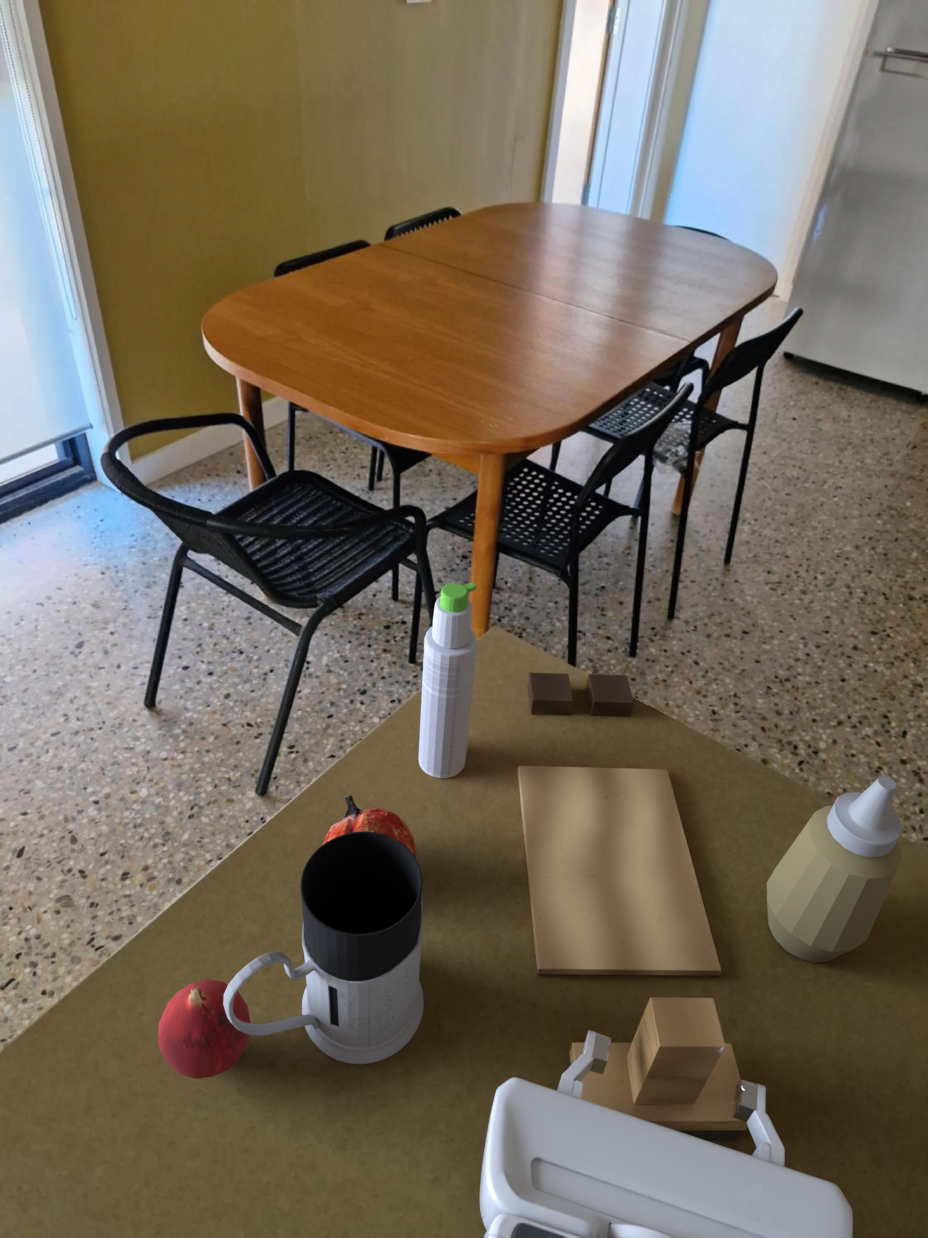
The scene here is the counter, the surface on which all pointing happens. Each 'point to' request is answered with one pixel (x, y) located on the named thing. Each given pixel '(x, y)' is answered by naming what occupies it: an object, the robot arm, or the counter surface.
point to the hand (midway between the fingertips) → (673, 1061)
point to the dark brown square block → (609, 695)
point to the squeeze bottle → (836, 875)
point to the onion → (202, 1030)
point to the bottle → (447, 683)
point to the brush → (672, 1071)
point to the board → (611, 874)
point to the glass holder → (354, 950)
